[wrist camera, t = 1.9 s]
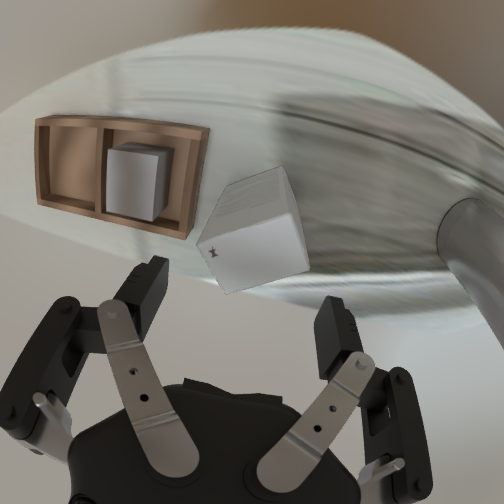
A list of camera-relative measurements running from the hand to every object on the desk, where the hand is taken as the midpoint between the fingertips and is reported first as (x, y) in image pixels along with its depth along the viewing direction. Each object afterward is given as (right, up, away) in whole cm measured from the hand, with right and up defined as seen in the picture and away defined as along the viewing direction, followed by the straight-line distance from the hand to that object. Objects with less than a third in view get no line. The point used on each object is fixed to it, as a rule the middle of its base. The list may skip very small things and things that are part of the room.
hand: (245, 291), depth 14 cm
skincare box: (+1, +8, +13) cm, 16 cm away
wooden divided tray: (-15, +11, +13) cm, 22 cm away
